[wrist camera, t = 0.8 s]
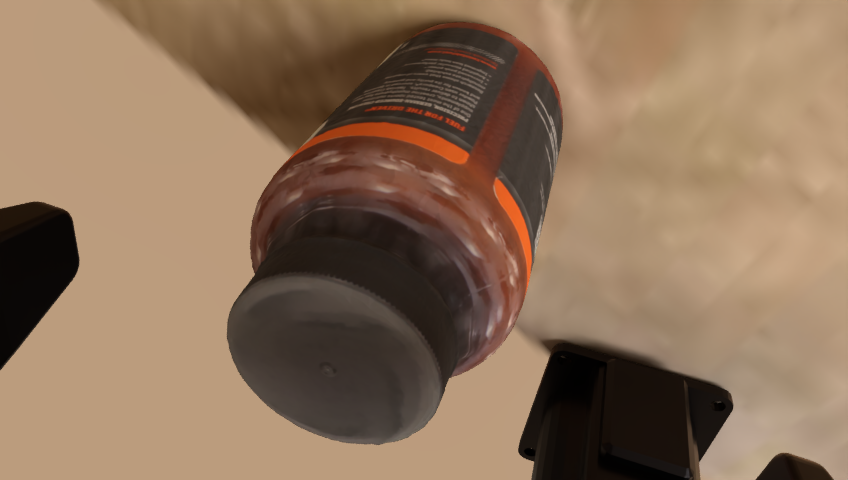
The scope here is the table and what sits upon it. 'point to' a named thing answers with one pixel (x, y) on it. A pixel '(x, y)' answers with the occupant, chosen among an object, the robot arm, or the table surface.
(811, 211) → the table surface
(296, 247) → the supplement bottle
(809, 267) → the table surface
